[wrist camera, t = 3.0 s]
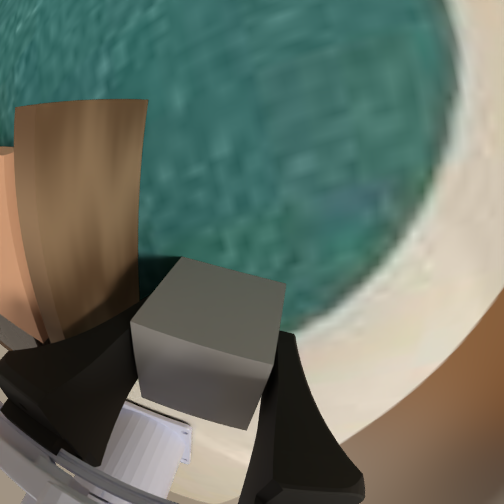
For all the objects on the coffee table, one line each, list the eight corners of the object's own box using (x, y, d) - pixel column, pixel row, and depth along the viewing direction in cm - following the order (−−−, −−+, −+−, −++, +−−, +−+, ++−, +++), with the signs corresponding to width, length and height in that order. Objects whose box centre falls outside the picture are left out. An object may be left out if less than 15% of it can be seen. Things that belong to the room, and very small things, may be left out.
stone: (263, 354, 14) (246, 430, 10) (178, 330, 14) (141, 397, 10) (286, 282, 12) (273, 365, 8) (182, 255, 12) (130, 321, 8)
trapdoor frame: (146, 358, 16) (103, 430, 11) (10, 291, 17) (-33, 330, 12) (150, 100, 9) (35, 104, 4) (-13, 110, 10) (-80, 130, 5)
